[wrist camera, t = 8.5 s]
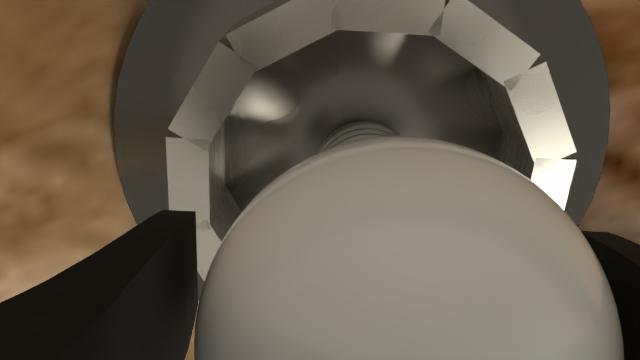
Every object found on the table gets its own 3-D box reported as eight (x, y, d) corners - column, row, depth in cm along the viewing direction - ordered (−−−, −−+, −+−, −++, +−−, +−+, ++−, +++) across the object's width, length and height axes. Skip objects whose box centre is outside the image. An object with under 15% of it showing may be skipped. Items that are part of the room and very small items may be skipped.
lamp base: (710, 87, 16) (788, 116, 13) (407, 407, 20) (420, 476, 18) (284, -253, 13) (276, -301, 10) (39, 215, 17) (-10, 264, 15)
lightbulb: (436, 271, 18) (596, 716, 8) (234, 234, 17) (118, 661, 7) (504, 74, 15) (871, 343, 5) (272, 23, 15) (176, 214, 5)
